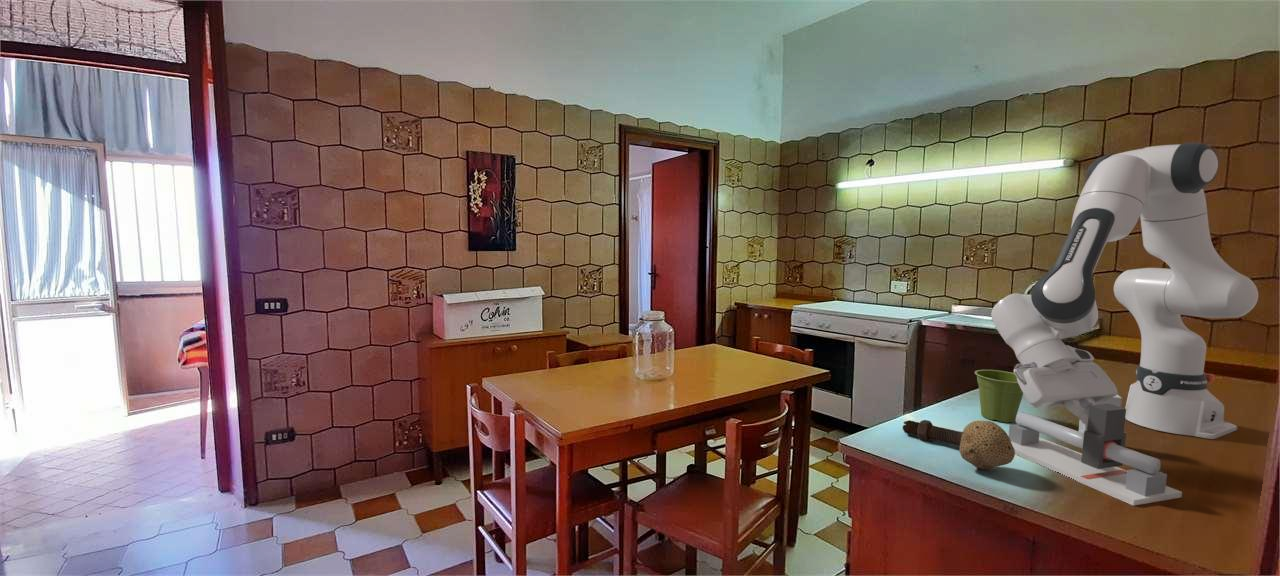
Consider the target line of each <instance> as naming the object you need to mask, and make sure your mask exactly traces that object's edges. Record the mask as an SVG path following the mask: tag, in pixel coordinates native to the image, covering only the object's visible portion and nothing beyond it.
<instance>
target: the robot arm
mask: <svg viewBox="0 0 1280 576" xmlns="http://www.w3.org/2000/svg"><path fill="white" fill-rule="evenodd" d="M1218 169H1219V158H1218V153H1217V152H1216V150H1215V149H1214V148H1213V147H1211V146H1210V145H1209V144H1207V143H1205V142H1204V143H1203V142H1183V143H1181V144H1180V143H1179V144H1164V145H1155V146H1153V145H1152V146H1147V147H1144V148H1138V149H1133V150H1129V151H1128V150H1127V151H1124V152H1119V153H1115V152H1114V153H1113V152H1112V153H1108V154H1106V155H1102V156H1100V157H1098V158H1096V159H1095V160H1094V161H1092V163H1091V164H1090V165H1088V167H1087V170H1086V173H1085V184H1084V185H1083V187H1082V190H1081V192H1080V194H1079V197H1078V199H1077V202H1076V205H1075V208H1074V211H1073V215H1072V219H1071V227H1070V230H1069V232H1068V234H1067V237H1066V239H1065V241H1064V243H1063V246H1062V247H1061V250H1060V252H1059V255H1058V256H1057V258H1056V260H1055V262H1054V264H1053V265H1052V267H1051V268H1050V269H1049V270H1048V271H1046V273H1045V274H1044V275H1042V276H1041V277H1040V278H1039V279H1038V280H1037V281H1036V282H1035V284H1034V285H1033V287H1032V289H1031V293H1030V294H1023V293H1017V292H1013V293H1011V294H1007V295H1006V296H1003V297H1002V298H1000V299H999V300H998V301H997V302H996V303H995V305H994V306H993V308H992V310H991V313H990V315H991V320H992V322H993V324H994V327H995V328H996V330H997V332H998V333H999V335H1000V337H1002V339H1003V340H1004V342H1005V344H1006V345H1008V346H1009V347H1010V348H1011V349H1012V350H1013V351H1014V354H1015V357H1016V359H1017V360H1018V362H1019V363H1016V364H1015V366H1014V367H1013V370H1012V371H1013V372H1012V373H1014V374H1015V375H1016V377H1017V381H1018V384H1019V386H1020V388H1021V390H1022V392H1023V396H1024V397H1025V399H1026V400H1027V402H1028V404H1030V405H1031V406H1032V407H1034V408H1036V409H1039V408H1049V407H1061V406H1064V407H1065V408H1066V410H1067V411H1069V412H1070V413H1071V414H1073V415H1074V416H1076V417H1077V418H1078V420H1081V421H1082V423H1083V424H1088V416H1089V407H1090V406H1092V405H1096V404H1095V402H1101V401H1106V400H1108V399H1110V398H1112V397H1114V396H1116V395H1118V388H1117V386H1116V385H1115V383H1114V382H1113V381H1112V380H1111V378H1110V377H1109V375H1107V373H1106V372H1105V371H1104V370H1103V369H1102V367H1101V366H1100V365H1098V364H1097V363H1095V362H1093V361H1094V360H1095V357H1094V356H1093V355H1092V353H1091V352H1089V351H1088V350H1084V349H1080V348H1076V347H1072V346H1070V345H1068V344H1065V343H1064V342H1063V341H1062V340H1066V339H1069V338H1073V337H1076V336H1081V335H1083V334H1087V333H1088V332H1090V331H1091V330H1093V328H1094V327H1095V326H1096V325H1097V323H1098V320H1099V310H1098V306H1097V301H1096V290H1095V285H1094V283H1093V282H1094V281H1093V275H1094V272H1095V269H1096V267H1097V265H1098V262H1099V260H1100V258H1101V257H1102V256H1101V255H1102V253H1103V252H1104V249H1105V246H1106V245H1107V243H1110V242H1111V243H1112V242H1116V241H1120V240H1122V239H1124V238H1126V237H1128V236H1129V234H1130V233H1131V232H1132V231H1133V229H1134V228H1135V226H1136V225H1137V223H1138V221H1139V219H1140V226H1141V236H1142V245H1143V248H1144V249H1145V251H1146V252H1147V253H1148V254H1150V255H1152V256H1153V257H1155V258H1157V259H1160V260H1161V261H1163V262H1164V263H1165V264H1166V265H1168V267H1169V268H1163V267H1143V268H1141V267H1140V268H1133V269H1127V270H1125V271H1123V272H1122V273H1121V274H1119V276H1118V277H1117V278H1116V279H1115V282H1114V284H1113V294H1114V297H1115V299H1116V300H1117V301H1118V303H1119V304H1121V305H1122V306H1123V307H1124V308H1125V309H1127V310H1128V311H1129V313H1130V314H1131V315H1132V317H1134V319H1135V321H1136V323H1137V326H1138V329H1139V331H1140V338H1141V347H1140V361H1139V364H1138V365H1137V368H1136V370H1135V374H1136V375H1135V379H1136V381H1135V382H1133V383H1132V384H1130V385H1129V390H1128V395H1127V399H1126V403H1125V407H1124V408H1125V409H1126V416H1125V420H1127V421H1128V422H1131V423H1133V424H1136V425H1138V426H1140V427H1145V428H1147V429H1151V430H1155V431H1160V432H1165V433H1171V434H1176V435H1183V436H1190V437H1191V436H1192V437H1198V438H1203V439H1209V440H1215V439H1218V438H1220V437H1224V436H1225V435H1228V434H1231V433H1233V432H1235V431H1237V430H1238V426H1237V425H1236V424H1233V423H1231V422H1229V421H1225V420H1224V417H1225V405H1224V404H1223V403H1222V401H1220V400H1219V399H1218V398H1217V397H1216V396H1214V395H1213V394H1212V393H1211V392H1210V391H1209V390H1208V388H1209V387H1208V383H1213V382H1214V381H1215V379H1216V376H1215V374H1213V373H1206V372H1205V371H1204V370H1205V363H1206V355H1207V343H1206V341H1205V340H1204V338H1203V337H1202V336H1201V335H1199V334H1198V333H1196V332H1194V331H1193V330H1190V329H1189V328H1188V327H1187V326H1186V325H1185V324H1184V322H1183V320H1182V316H1187V317H1188V316H1190V317H1198V318H1206V319H1233V318H1241V317H1243V316H1245V315H1247V314H1248V313H1250V312H1251V311H1252V310H1253V309H1254V308H1255V306H1257V302H1258V300H1259V291H1258V287H1257V286H1256V284H1255V283H1254V281H1252V279H1251V278H1249V277H1248V276H1246V275H1244V274H1242V273H1240V272H1238V271H1236V270H1235V269H1233V267H1231V266H1230V265H1229V264H1228V263H1227V262H1226V261H1224V259H1223V258H1222V257H1221V256H1220V255H1219V253H1218V252H1217V250H1216V249H1215V247H1214V245H1213V242H1212V238H1211V233H1210V227H1209V217H1208V208H1207V207H1208V206H1207V200H1206V194H1205V190H1204V189H1205V188H1206V187H1207V186H1208V185H1210V184H1211V183H1212V182H1213V181H1214V179H1216V175H1217V174H1218V171H1219V170H1218ZM1083 408H1084V409H1083Z"/></svg>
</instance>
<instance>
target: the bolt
mask: <svg viewBox="0 0 1280 576" xmlns="http://www.w3.org/2000/svg"><path fill="white" fill-rule="evenodd" d="M903 424H904V425H902V430H903V432H904V433H905V434H908V435H911V436H916V437H917V438H918V439H919V441H922V442H929V441H931V440H932V441H937V442H940V443H943V444H949V445H952V446H956V447H960V442H961V437H962V433H963V431H959V430H955V429H954V430H953V429H950V428H946V427H941V426H937V425H933V423H932V421H930V420H927V419H924V420H920V421H915V420H906V421H903Z"/></svg>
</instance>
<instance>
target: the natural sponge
mask: <svg viewBox="0 0 1280 576" xmlns="http://www.w3.org/2000/svg"><path fill="white" fill-rule="evenodd" d="M962 432H963V433H962V437H961V442H960V446H959V454H960V456H961V458H962V459H963V460H964V461H966V462H967V463H969V464H971V465H972V466H973V467H975V468H976V469H979V470H983V471H985V470H991V469H992V468H995V467H1001V466H1002V467H1003V466H1005V465H1008V464H1011V463H1012V462H1013V460H1014V458H1015V455H1016V454H1015V450H1014V447H1013V446H1012V443H1011V441H1010V438H1009V434H1007V432H1006V431H1005V430H1004V429H1003V428H1002V426H1000V425H999V424H997V423H995V422H993V421H992V420H973V421H971V422H970V423H968V424H966V426H965V427H964V429H963V431H962Z"/></svg>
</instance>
